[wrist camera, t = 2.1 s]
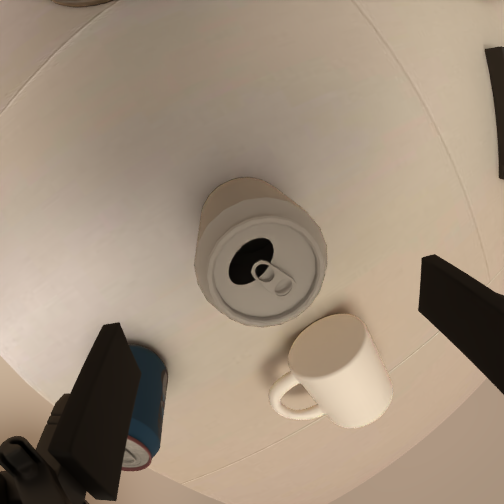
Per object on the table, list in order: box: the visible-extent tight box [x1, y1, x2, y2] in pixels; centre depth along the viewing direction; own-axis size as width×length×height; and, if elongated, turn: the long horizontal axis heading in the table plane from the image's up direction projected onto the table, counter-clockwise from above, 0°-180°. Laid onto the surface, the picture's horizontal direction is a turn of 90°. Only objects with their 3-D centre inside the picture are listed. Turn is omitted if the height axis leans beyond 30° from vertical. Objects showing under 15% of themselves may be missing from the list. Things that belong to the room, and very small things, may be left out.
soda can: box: [121, 345, 168, 471], centre depth 26 cm, size 7×7×12 cm
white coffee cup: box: [269, 314, 393, 428], centre depth 30 cm, size 12×10×8 cm
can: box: [194, 177, 327, 327], centre depth 22 cm, size 8×8×12 cm
